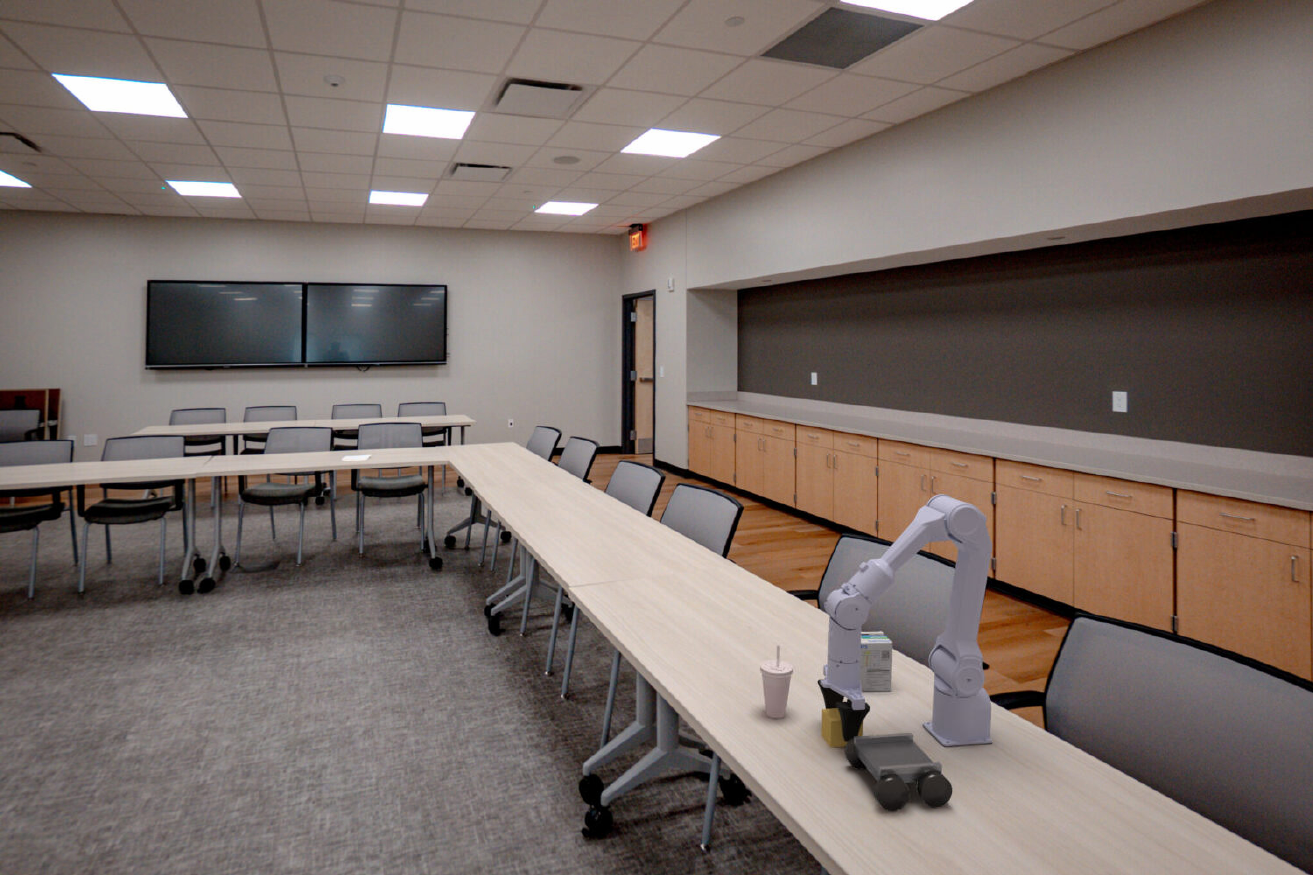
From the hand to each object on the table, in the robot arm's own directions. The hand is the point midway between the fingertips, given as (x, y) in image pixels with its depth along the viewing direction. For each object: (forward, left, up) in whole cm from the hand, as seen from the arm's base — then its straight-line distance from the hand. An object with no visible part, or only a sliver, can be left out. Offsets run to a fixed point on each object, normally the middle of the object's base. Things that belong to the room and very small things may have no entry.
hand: (841, 729), depth 132 cm
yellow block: (0, 0, -2) cm, 2 cm away
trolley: (-3, +15, -2) cm, 15 cm away
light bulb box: (-13, -21, -2) cm, 25 cm away
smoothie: (+9, -11, -2) cm, 14 cm away
